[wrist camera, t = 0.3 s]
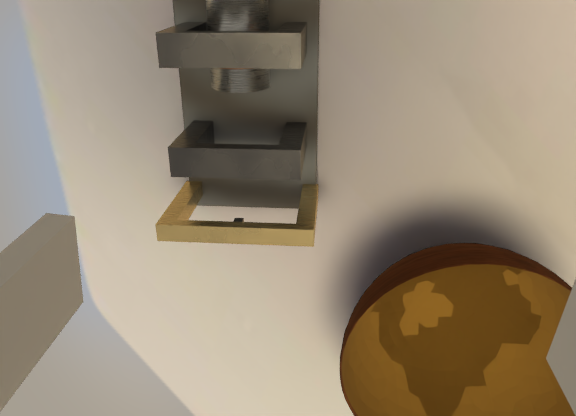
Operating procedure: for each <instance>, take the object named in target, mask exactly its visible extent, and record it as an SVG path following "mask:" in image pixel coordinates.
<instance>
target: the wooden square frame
mask: <svg viewBox="0 0 576 416" xmlns="http://www.w3.org/2000/svg"><path fill="white" fill-rule="evenodd" d="M202 196H203V191H202V181H186V183H185V184H184V186H183V187H182V188H181V190H180V191H179V193H178V194H177V195H176V197H175V198H174V200H173V201H172V202H171V204H170V205H169V207H168V208H167V209H166V211H165V212H164V214H163V215H162V216H161V218H160V219H159V221H158V222H157V223H156V232H157V240H158V241H176V242H203V243H231V244H258V245H285V246H313V247H314V238H315V227H316V217H317V206H318V184H303V187H302V193H301V198H300V204H299V210H298V216H297V222H296V224H284V223H253V222H244V218H235V219H234V222H223V221H193V220H188V219H189V218H190V216H191V214H192V213H193V211H194V209H195V208H196V206H197V204H198V203H199V201H200V199H201V197H202Z"/></svg>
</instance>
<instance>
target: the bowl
mask: <svg viewBox="0 0 576 416" xmlns="http://www.w3.org/2000/svg"><path fill="white" fill-rule="evenodd" d="M571 290H572V288H571V287H570V286H569V285H568V284H567V283H566V282H565V281H564V280H562V279H561V278H560V277H559V276H557V275H556V274H555V273H553V272H552V271H550V270H549V269H547V268H546V267H544V266H542V265H541V264H539V263H538V262H536V261H534V260H531V259H529V258H527V257H525V256H522V255H520V254H517V253H515V252H513V251H510V250H507V249H503V248H499V247H494V246H489V245H484V244H476V243H454V244H444V245H439V246H434V247H430V248H426V249H423V250H421V251H418V252H416V253H413V254H411V255H408V256H407V257H405V258H403V259H401V260H400V261H398V262H396V263H395V264H393V265H392V266H390V267H389V268H388V269H386V270H385V271H384V272H383V273H382V274H381V275H380V276H379V277H378V278H376V279H375V281H374V282H373V283H372V284H371V285H370V286H369V288H368V289H367V290H366V291H365V292H364V294H363V295H362V297H361V298H360V300H359V302H358V303H357V305H356V306H355V308H354V310H353V312H352V315H351V317H350V320H349V322H348V325H347V327H346V330H345V333H344V338H343V344H342V349H341V355H340V380H341V386H342V391H343V394H344V397H345V399H346V401H347V403H348V405H349V407H350V409H351V411H352V413H353V414H354V416H575V414H574V412H573V410H572V408H571V406H570V404H569V402H568V400H567V398H566V396H565V395H564V393H563V391H562V389H561V387H560V385H559V383H558V381H557V379H556V377H555V375H554V373H553V371H552V369H551V367H550V366H549V364H548V362H547V360H546V357H547V354H548V352H549V349H550V346H551V344H552V341H553V338H554V336H555V333H556V330H557V327H558V325H559V322H560V319H561V317H562V314H563V311H564V309H565V306H566V303H567V301H568V298H569V295H570V293H571Z"/></svg>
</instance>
